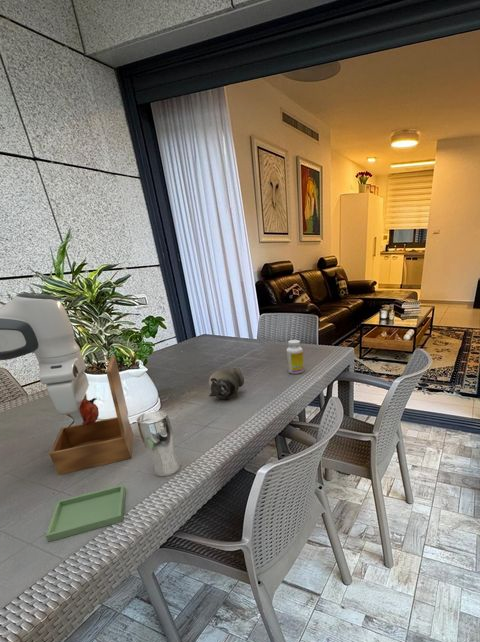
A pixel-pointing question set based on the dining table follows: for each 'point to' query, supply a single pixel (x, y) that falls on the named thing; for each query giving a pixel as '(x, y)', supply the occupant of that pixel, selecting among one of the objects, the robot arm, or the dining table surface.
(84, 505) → the tray
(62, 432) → the warming box
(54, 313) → the robot arm
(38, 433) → the dining table surface
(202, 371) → the dining table surface
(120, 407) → the box lid
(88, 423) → the pomegranate
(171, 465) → the beer glass
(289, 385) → the dining table surface
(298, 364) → the supplement bottle
